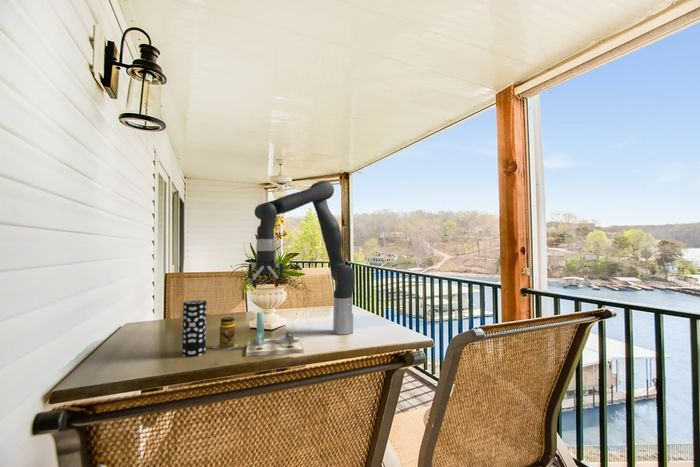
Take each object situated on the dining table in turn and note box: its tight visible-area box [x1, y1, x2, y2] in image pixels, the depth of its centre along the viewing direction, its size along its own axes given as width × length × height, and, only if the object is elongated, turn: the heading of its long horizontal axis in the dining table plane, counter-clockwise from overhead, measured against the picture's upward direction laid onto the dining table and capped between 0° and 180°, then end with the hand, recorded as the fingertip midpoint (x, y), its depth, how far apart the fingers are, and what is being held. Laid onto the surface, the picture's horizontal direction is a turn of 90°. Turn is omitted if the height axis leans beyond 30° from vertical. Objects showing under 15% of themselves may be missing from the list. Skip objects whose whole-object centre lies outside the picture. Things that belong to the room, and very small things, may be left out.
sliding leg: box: [255, 311, 265, 346], centre depth 138 cm, size 3×9×12 cm, turn 14°
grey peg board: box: [245, 329, 305, 357], centre depth 139 cm, size 22×14×6 cm, turn 104°
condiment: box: [211, 316, 239, 351], centre depth 142 cm, size 7×8×12 cm
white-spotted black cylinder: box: [181, 299, 208, 358], centre depth 133 cm, size 8×8×20 cm
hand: (265, 287), depth 144 cm, fingers open, 8 cm apart
